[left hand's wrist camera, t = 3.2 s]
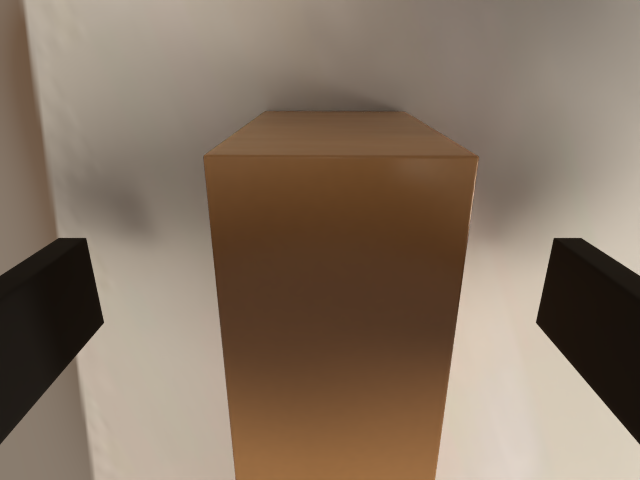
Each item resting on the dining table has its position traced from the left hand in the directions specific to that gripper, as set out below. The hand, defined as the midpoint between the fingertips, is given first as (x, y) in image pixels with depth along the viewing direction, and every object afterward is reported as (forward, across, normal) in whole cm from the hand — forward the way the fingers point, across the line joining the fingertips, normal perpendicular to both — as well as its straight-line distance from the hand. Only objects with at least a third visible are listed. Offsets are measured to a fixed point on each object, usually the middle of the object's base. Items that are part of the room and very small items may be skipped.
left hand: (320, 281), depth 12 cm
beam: (+5, 0, -29) cm, 29 cm away
